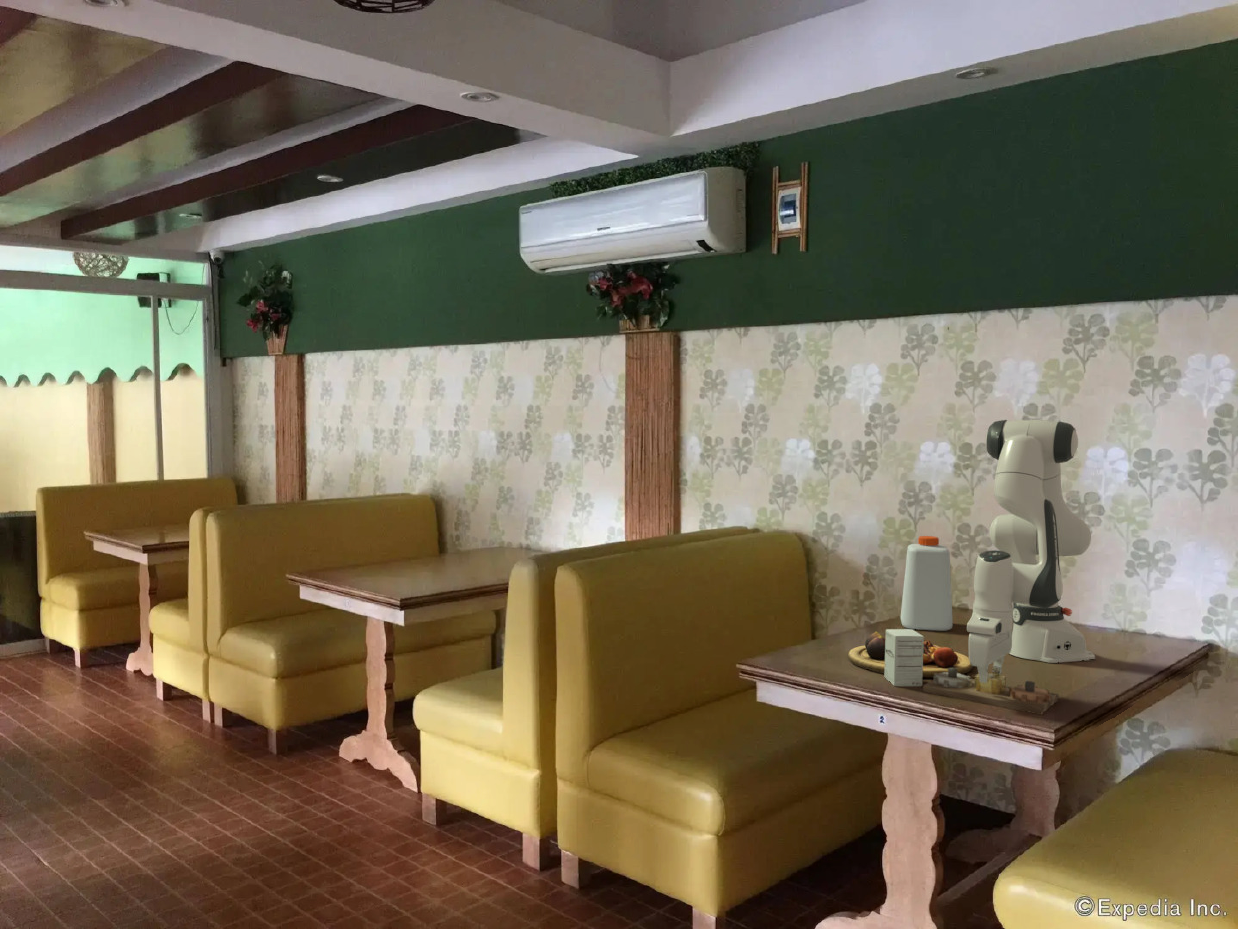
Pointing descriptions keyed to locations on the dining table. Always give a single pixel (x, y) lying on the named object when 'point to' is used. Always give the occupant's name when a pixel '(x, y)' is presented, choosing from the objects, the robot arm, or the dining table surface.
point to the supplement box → (904, 657)
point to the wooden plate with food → (933, 657)
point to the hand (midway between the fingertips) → (990, 678)
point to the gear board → (1010, 698)
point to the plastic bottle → (927, 586)
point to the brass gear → (991, 684)
